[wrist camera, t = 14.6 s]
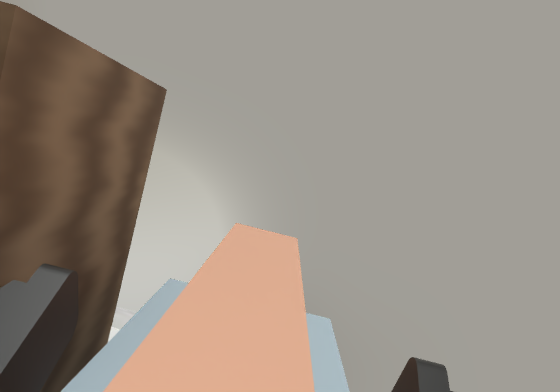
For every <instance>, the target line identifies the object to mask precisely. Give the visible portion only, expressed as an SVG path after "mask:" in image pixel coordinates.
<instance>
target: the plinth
mask: <svg viewBox="0 0 560 392" xmlns="http://www.w3.org/2000/svg"><path fill="white" fill-rule="evenodd" d="M166 91H167V90H166V89H165V88H163V87H161V86H159V85H157V84H156V83H154V82H152V81H150V80H149V79H147V78H145V77H143V76H141V75H140V74H138V73H136V72H134V71H132V70H131V69H129V68H127V67H125V66H123V65H121V64H120V63H118V62H116V61H115V60H113V59H111V58H109V57H107V56H106V55H104V54H102V53H100V52H98V51H97V50H95V49H93V48H91V47H90V46H88V45H86V44H84V43H82V42H81V41H79V40H77V39H75V38H73V37H72V36H70V35H68V34H66V33H64V32H62V31H61V30H59V29H57V28H56V27H54V26H52V25H50V24H48V23H47V22H45V21H43V20H41V19H39V18H38V17H36V16H34V15H32V14H31V13H29V12H27V11H25V10H23V9H22V8H20V7H18V6H16V5H13V4H9V3H5V2H1V1H0V288H1V287H3V286H4V285H6V284H8V283H9V282H11V281H13V280H17V281H21V282H25V283H27V282H28V280H29V279H30V278H31V277H32V275H33V274H34V273H35V271H36V270H37V269H38V268H39V267H40V266H41V265H42V264H45V263H46V264H50V265H54V266H58V267H62V268H66V269H70V270H74V271H76V272H77V273H78V321H77V325H76V328H75V331H74V334H73V336H72V338H71V340H70V342H69V344H68V345H67V347H66V349H65V350H64V352H63V354H62V355H61V357H60V359H59V360H58V362H57V364H56V365H55V367H54V369H53V370H52V372H51V374H50V375H49V377H48V379H47V380H46V382H45V384H44V385H43V387H42V389H41V390H40V392H61V391H62V390H63V389H64V388H65V386H66V385H67V384H68V383H69V382H70V381H71V380H72V379H73V378H74V377H75V376H76V375H77V374H78V373H79V372H80V371H81V370H82V369H83V368H84V367H85V366H86V365H87V364H88V363H89V362H90V361H91V360H92V359H93V358H94V357H95V355H96V354H97V353H98V352H99V351H100V350H101V349H102V348H103V347H104V346H105V345H106V344H107V343H108V339H109V335H110V331H111V326H112V322H113V318H114V314H115V309H116V305H117V301H118V296H119V292H120V288H121V283H122V279H123V275H124V271H125V266H126V262H127V258H128V254H129V249H130V245H131V241H132V236H133V232H134V228H135V224H136V219H137V215H138V211H139V207H140V202H141V198H142V194H143V189H144V185H145V181H146V177H147V172H148V168H149V164H150V159H151V155H152V151H153V146H154V142H155V138H156V134H157V129H158V125H159V121H160V116H161V112H162V107H163V104H164V99H165V95H166Z"/></svg>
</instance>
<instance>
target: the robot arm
mask: <svg viewBox="0 0 560 392" xmlns="http://www.w3.org/2000/svg"><path fill="white" fill-rule="evenodd" d="M77 321H78V273H77V272H76V271H74V270H70V269H66V268H62V267H58V266H54V265H50V264H46V263H45V264H42V265H41V266H40V267H39V268H38V269H37V270H36V271H35V273H34V274H33V275H32V277H31V278H30V279H29V280H28V282H27V283H25V282H21V281H17V280H13V281H11V282H9V283H8V284H6V285H4V286H3V287H1V288H0V392H40V390H41V389H42V387H43V385H44V384H45V382H46V380H47V379H48V377H49V375H50V374H51V372H52V370H53V369H54V367H55V365H56V364H57V362H58V360H59V359H60V357H61V355H62V354H63V352H64V350H65V349H66V347H67V345H68V344H69V342H70V340H71V338H72V336H73V334H74V331H75V328H76V325H77ZM392 392H453V391H450V388H449V382H448V376H447V371H446V368H445V366H444V365H441V364H437V363H433V362H430V361H426V360H421V359H418V358H414V357H412V358H410V359H409V361H408V362H407V364H406V366H405V368H404V370H403V371H402V373H401V375H400V377H399V379H398V381H397V383H396V384H395V386H394V388H393V390H392Z"/></svg>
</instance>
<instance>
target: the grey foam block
mask: <svg viewBox="0 0 560 392" xmlns="http://www.w3.org/2000/svg"><path fill="white" fill-rule="evenodd" d="M187 285H188V283H186V282H182V281H178V280H175V279H169V280H168V281H167V282H166V283H165V284H164V285H163V286H162V287H161V288H160V289H159V290H158V291H157V292H156V293H155V294H154V295H153V297H152V298H151V299H150V300H149V301H148V302H147V303H146V304H145V305H144V306H143V307H142V308H141V309H140V310H139V311H138V312H137V313H136V314H135V315H134V316H133V317H132V318H131V319H130V320H129V321H128V322H127V323H126V324H125V325H124V327H123V328H122V329H121V330H120V331H119V332H118V333H117V334H116V335H115V336H114V337H113V338H112V339H111V340H110V341H109V342H108V343H107V344H106V345H105V346H104V347H103V348H102V349H101V350H100V351H99V352H98V353H97V354H96V355H95V357H94V358H93V359H92V360H91V361H90V362H89V363H88V364H87V365H86V366H85V367H84V368H83V369H82V370H81V371H80V372H79V373H78V374H77V375H76V376H75V377H74V378H73V379H72V380H71V381H70V382H69V383H68V384H67V385H66V386H65V388H64V389H63V390H62V391H61V392H103V391H104V390H105V388H106V387H107V386H108V385H109V383H110V382H111V381H112V379H113V378H114V377H115V376H116V374H117V373H118V372H119V371H120V369H121V368H122V367H123V366H124V364H125V363H126V362H127V360H128V359H129V358H130V357H131V355H132V354H133V353H134V352H135V350H136V349H137V348H138V347H139V345H140V344H141V343H142V342H143V340H144V339H145V338H146V336H147V335H148V334H149V333H150V331H151V330H152V329H153V328H154V326H155V325H156V324H157V323H158V321H159V320H160V319H161V317H162V316H163V315H164V314H165V312H166V311H167V310H168V309H169V307H170V306H171V305H172V304H173V302H174V301H175V300H176V298H177V297H178V296H179V295H180V293H181V292H182V291H183V290H184V288H185V287H186V286H187ZM306 319H307V328H308V337H309V346H310V355H311V363H312V372H313V381H314V390H315V392H349V388H348V384H347V380H346V377H345V373H344V369H343V366H342V362H341V358H340V354H339V350H338V347H337V343H336V339H335V335H334V331H333V328H332V324H331V320H330V319H329V318H325V317H321V316H317V315H313V314H309V313H306Z"/></svg>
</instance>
